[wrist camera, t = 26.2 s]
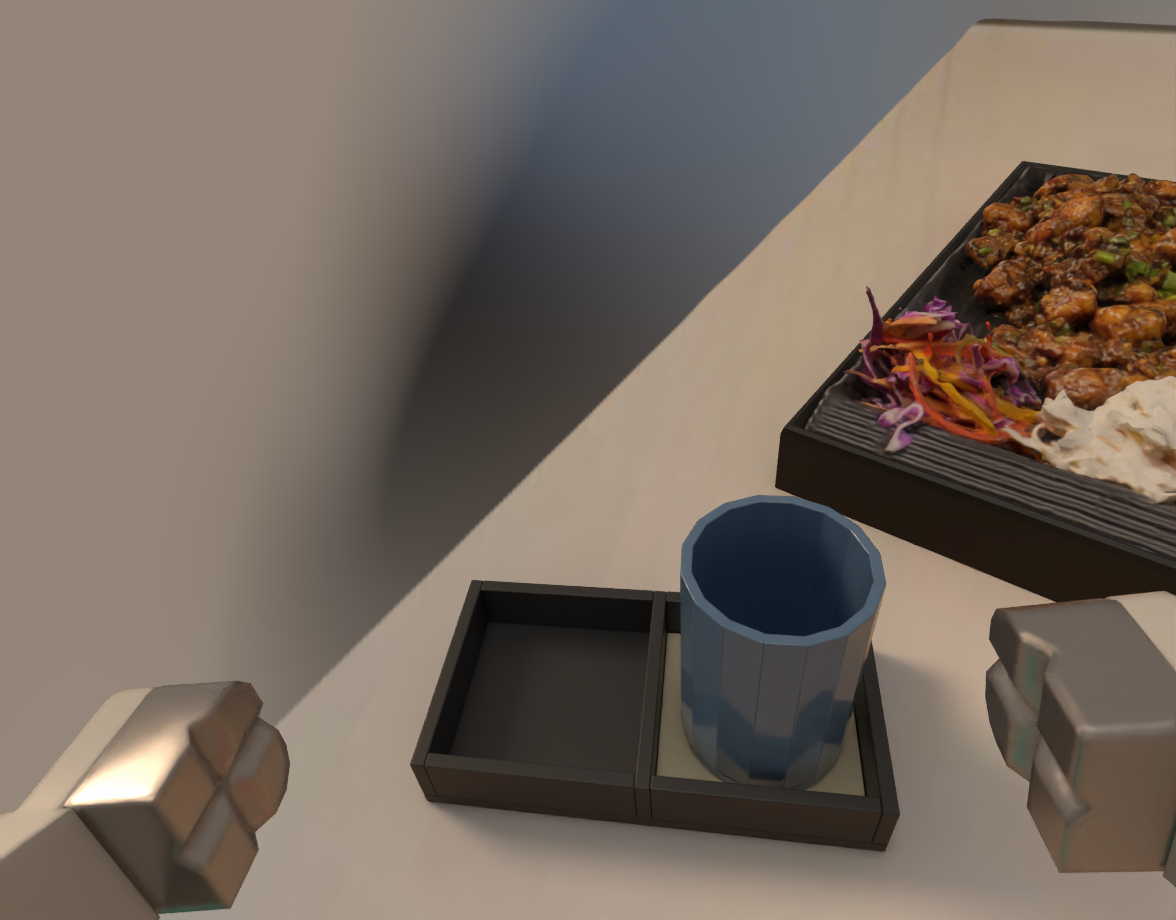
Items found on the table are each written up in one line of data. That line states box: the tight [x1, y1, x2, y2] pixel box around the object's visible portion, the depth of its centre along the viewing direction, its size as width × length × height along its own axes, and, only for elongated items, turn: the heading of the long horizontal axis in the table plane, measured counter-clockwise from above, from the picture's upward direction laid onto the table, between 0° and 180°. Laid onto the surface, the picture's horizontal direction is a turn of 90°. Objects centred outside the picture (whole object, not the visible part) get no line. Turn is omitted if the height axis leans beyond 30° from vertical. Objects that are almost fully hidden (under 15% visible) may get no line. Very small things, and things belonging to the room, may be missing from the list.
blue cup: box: [680, 495, 886, 790], centre depth 29 cm, size 7×7×10 cm
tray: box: [410, 580, 900, 851], centre depth 33 cm, size 18×10×3 cm, turn 82°
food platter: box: [775, 161, 1176, 602], centre depth 48 cm, size 45×25×10 cm, turn 142°
